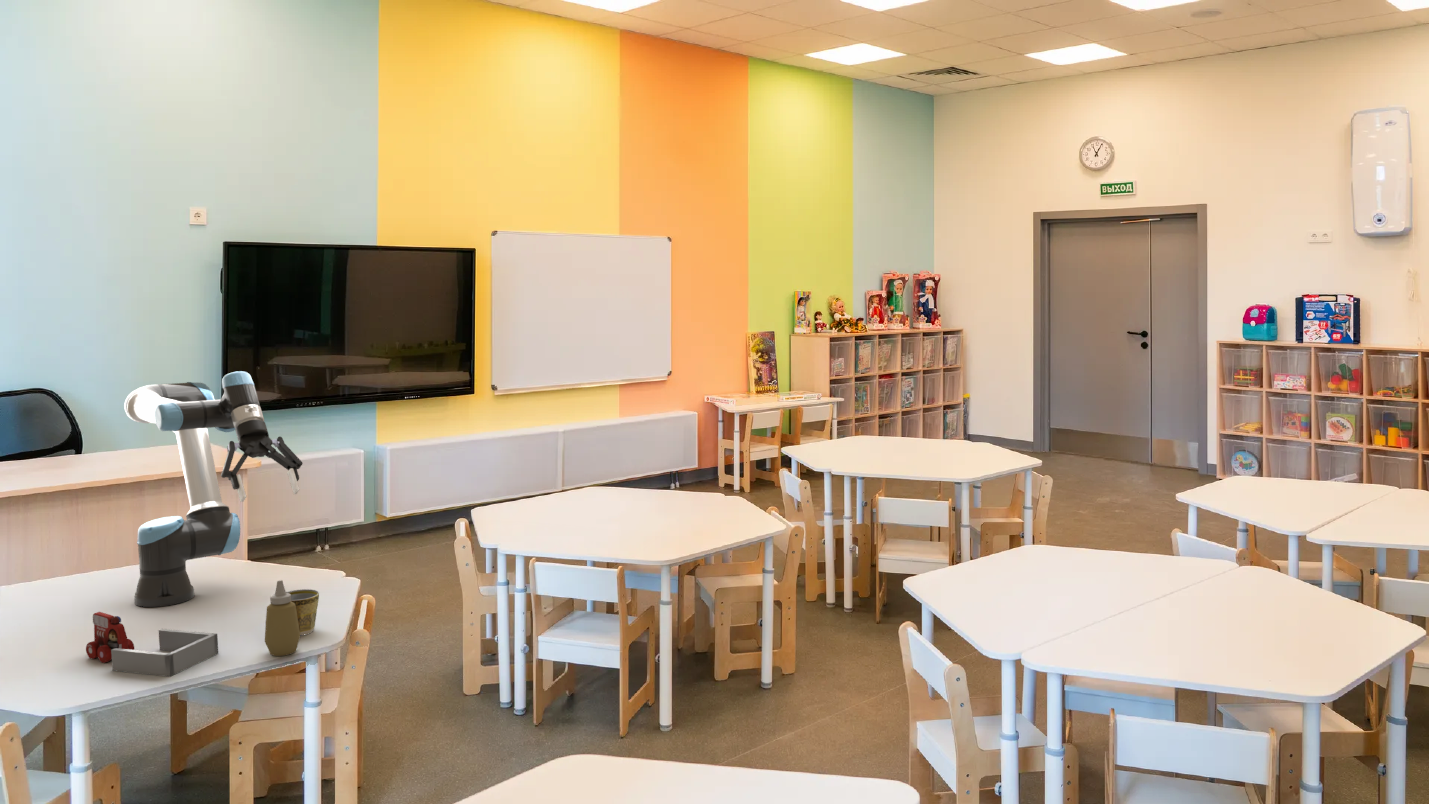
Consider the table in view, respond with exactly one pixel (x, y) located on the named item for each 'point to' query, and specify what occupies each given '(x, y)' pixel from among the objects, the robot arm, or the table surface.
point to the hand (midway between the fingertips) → (270, 495)
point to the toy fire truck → (107, 637)
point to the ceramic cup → (305, 608)
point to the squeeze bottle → (281, 623)
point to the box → (185, 653)
